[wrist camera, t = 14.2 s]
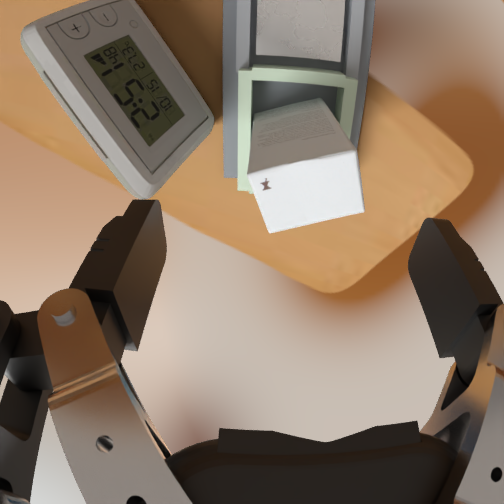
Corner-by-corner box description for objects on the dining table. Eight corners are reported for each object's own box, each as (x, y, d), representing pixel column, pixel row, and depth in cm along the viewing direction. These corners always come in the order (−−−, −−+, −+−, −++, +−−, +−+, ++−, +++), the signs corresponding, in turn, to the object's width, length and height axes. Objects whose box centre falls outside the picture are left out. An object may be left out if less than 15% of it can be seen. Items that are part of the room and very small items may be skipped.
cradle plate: (256, 54, 22) (255, 54, 22) (258, -21, 18) (258, -22, 17) (338, 61, 22) (340, 62, 22) (343, -12, 18) (345, -13, 17)
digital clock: (223, 131, 28) (201, 187, 20) (138, 160, 30) (92, 222, 22) (160, -26, 18) (102, -44, 10) (75, 21, 20) (-2, 36, 12)
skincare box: (267, 155, 28) (265, 236, 19) (253, 112, 26) (242, 173, 17) (333, 140, 27) (367, 214, 18) (323, 95, 24) (357, 147, 15)
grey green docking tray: (224, 175, 31) (220, 192, 28) (225, -40, 18) (219, -48, 15) (348, 183, 31) (355, 200, 28) (373, -26, 17) (386, -31, 15)
